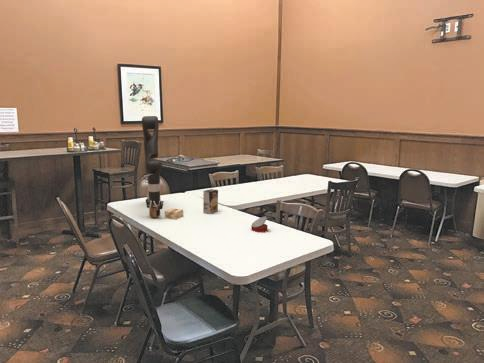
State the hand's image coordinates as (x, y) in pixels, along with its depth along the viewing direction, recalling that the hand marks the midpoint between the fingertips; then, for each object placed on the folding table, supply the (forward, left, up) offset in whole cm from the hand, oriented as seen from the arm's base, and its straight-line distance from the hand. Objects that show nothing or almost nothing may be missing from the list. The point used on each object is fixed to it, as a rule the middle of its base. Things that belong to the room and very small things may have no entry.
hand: (154, 214), depth 274 cm
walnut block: (0, 0, -1) cm, 1 cm away
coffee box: (+24, +32, -2) cm, 40 cm away
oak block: (+10, +8, -2) cm, 13 cm away
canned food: (+73, +11, -2) cm, 74 cm away
